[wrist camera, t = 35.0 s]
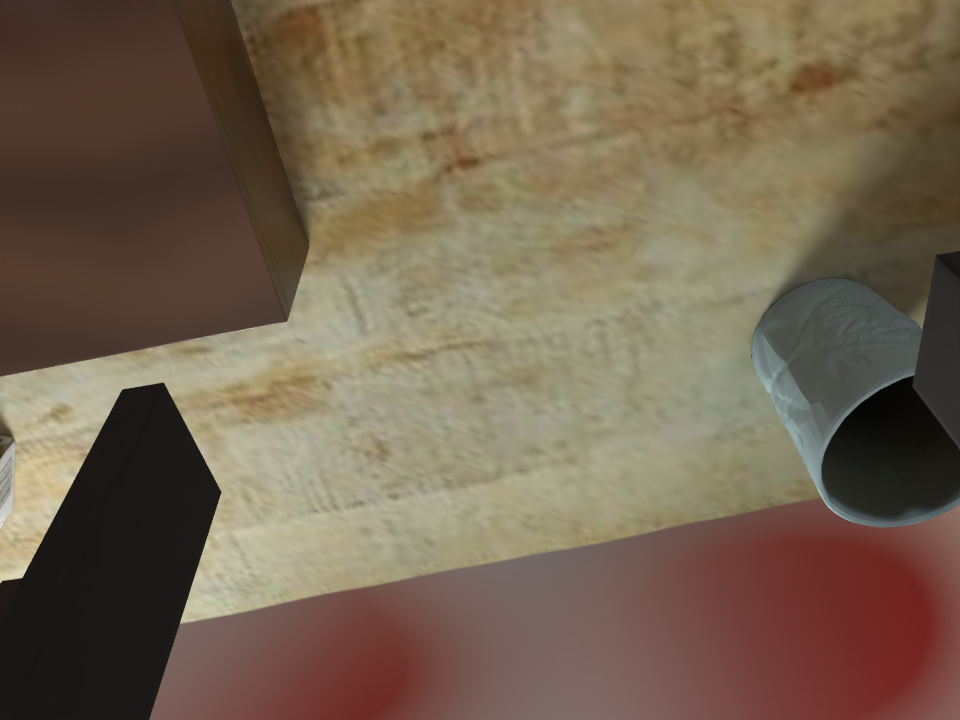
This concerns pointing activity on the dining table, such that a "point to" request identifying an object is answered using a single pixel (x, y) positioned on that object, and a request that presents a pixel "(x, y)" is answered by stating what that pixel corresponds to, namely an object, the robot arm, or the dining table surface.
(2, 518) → the coffee box
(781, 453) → the dining table surface
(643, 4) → the dining table surface
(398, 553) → the dining table surface
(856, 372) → the pale blue cup
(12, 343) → the cabinet
